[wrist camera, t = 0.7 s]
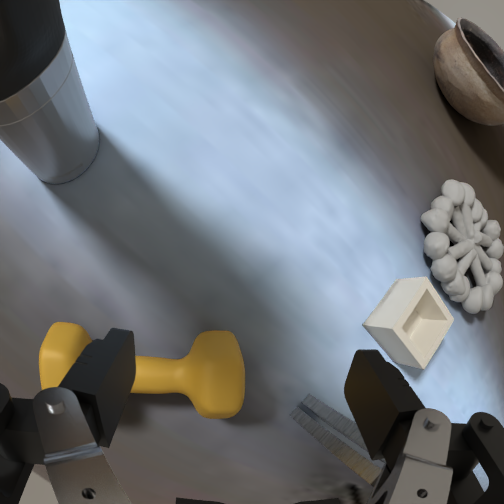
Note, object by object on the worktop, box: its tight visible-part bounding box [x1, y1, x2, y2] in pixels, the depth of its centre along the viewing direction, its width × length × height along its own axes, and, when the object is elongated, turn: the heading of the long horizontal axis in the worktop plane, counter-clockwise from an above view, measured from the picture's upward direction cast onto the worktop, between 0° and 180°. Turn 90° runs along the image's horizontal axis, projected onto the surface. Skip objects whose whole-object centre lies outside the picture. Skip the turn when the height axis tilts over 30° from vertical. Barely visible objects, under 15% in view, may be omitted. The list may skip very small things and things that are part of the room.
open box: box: [363, 277, 454, 370], centre depth 36 cm, size 8×8×6 cm
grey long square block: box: [289, 394, 386, 487], centre depth 25 cm, size 4×4×18 cm
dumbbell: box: [39, 322, 245, 419], centre depth 26 cm, size 19×9×8 cm, turn 88°
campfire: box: [421, 180, 504, 314], centre depth 41 cm, size 22×21×6 cm
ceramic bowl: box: [433, 17, 504, 126], centre depth 43 cm, size 22×22×15 cm
